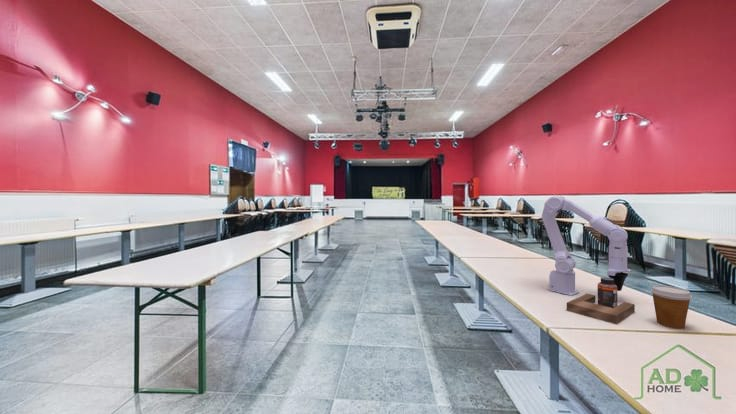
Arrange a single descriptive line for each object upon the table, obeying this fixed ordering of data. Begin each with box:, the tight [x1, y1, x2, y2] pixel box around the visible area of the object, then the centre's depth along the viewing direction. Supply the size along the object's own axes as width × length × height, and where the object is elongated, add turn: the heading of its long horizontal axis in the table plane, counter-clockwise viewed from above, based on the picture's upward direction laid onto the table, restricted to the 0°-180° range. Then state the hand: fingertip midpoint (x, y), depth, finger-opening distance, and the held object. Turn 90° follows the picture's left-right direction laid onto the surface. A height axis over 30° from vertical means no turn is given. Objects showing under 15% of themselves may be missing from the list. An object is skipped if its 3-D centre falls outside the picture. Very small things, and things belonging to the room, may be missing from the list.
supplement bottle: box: [597, 276, 618, 308], centre depth 110 cm, size 6×6×11 cm
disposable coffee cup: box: [650, 284, 693, 330], centre depth 94 cm, size 10×10×12 cm
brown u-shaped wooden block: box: [566, 293, 636, 325], centre depth 106 cm, size 15×18×3 cm
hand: (617, 290), depth 116 cm, fingers closed
